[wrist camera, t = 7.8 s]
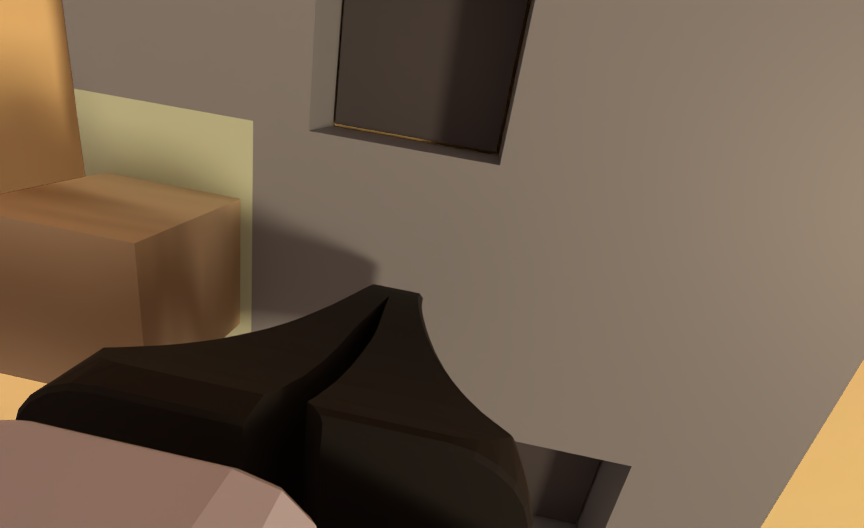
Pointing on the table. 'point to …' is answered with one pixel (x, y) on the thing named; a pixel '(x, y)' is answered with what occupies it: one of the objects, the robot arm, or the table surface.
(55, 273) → the maple block
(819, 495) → the table surface
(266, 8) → the trap board
